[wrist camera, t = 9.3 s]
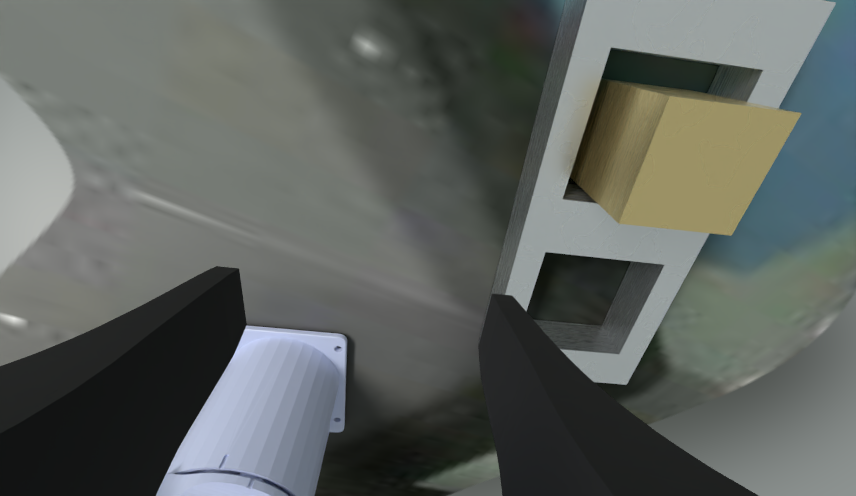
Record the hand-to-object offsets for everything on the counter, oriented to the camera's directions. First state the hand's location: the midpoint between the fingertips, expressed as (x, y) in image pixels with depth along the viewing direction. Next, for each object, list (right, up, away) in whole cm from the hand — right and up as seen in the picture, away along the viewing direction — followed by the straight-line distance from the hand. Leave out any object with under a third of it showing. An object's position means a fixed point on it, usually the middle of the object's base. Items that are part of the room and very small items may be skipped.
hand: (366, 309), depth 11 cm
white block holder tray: (+11, +4, +9) cm, 15 cm away
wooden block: (+11, +7, +7) cm, 15 cm away
